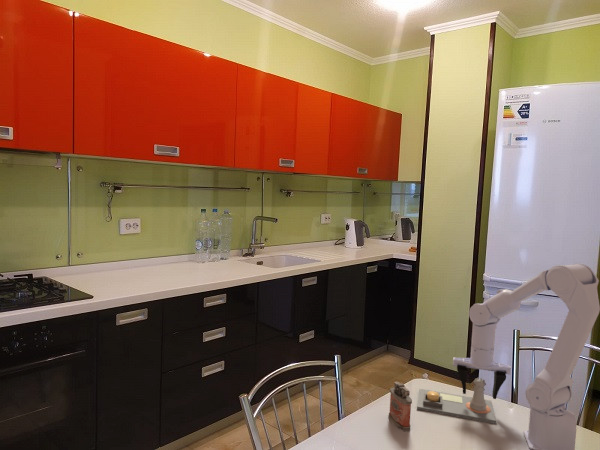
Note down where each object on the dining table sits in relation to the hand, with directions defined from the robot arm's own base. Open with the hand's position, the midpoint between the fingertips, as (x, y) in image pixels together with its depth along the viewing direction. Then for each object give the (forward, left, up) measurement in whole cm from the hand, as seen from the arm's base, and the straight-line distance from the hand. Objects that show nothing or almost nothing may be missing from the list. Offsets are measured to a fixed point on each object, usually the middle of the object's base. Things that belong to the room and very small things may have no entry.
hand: (479, 394), depth 121 cm
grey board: (+6, 0, -4) cm, 7 cm away
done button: (+12, +2, -3) cm, 12 cm away
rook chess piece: (0, +1, -4) cm, 4 cm away
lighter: (+20, +15, -5) cm, 25 cm away
